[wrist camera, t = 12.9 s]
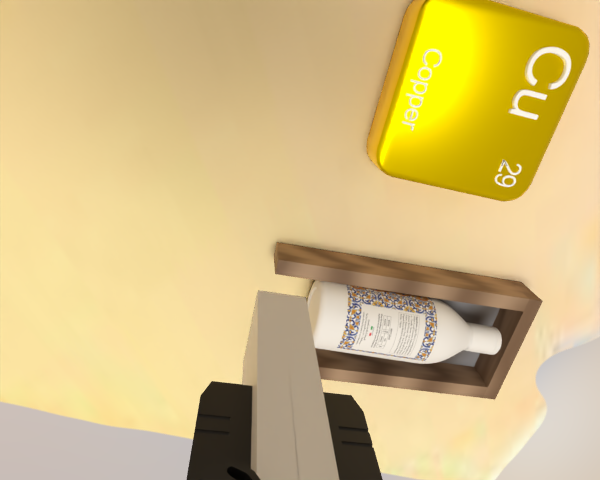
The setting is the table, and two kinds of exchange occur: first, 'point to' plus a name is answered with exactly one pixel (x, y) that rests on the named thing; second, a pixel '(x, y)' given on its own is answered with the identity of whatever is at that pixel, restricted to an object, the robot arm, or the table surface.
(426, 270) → the brown wooden tray
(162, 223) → the table surface
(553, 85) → the element tile
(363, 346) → the bath foam
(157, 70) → the table surface
